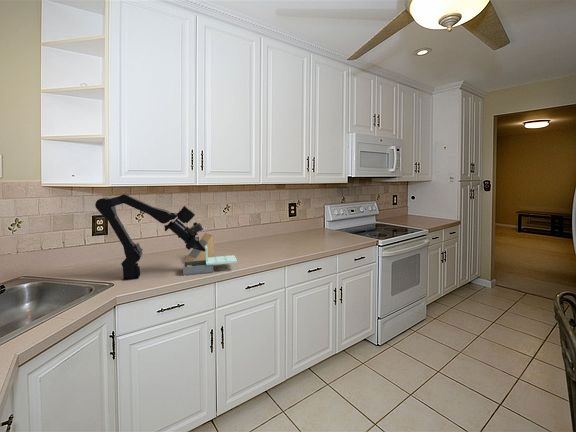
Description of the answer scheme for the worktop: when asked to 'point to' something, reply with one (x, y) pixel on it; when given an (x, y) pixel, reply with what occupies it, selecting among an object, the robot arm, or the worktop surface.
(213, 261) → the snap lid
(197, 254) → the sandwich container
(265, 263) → the worktop surface
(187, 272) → the parts tub
